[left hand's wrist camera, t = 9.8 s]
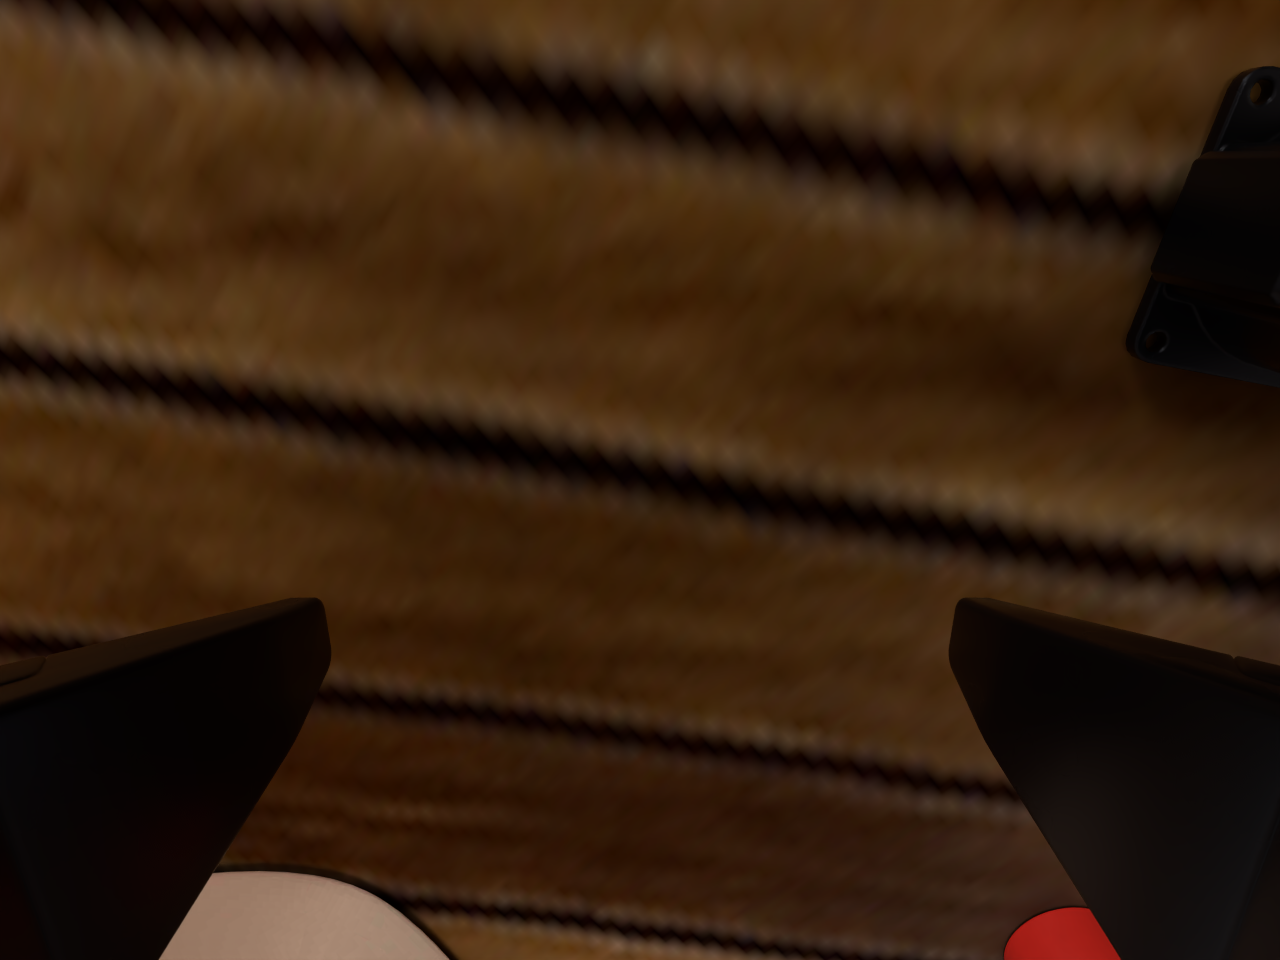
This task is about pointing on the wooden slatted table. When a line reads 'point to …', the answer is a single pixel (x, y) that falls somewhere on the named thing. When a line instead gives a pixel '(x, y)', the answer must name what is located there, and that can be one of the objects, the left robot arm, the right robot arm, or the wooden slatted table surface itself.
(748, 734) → the wooden slatted table surface
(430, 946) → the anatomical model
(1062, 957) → the red cylinder
